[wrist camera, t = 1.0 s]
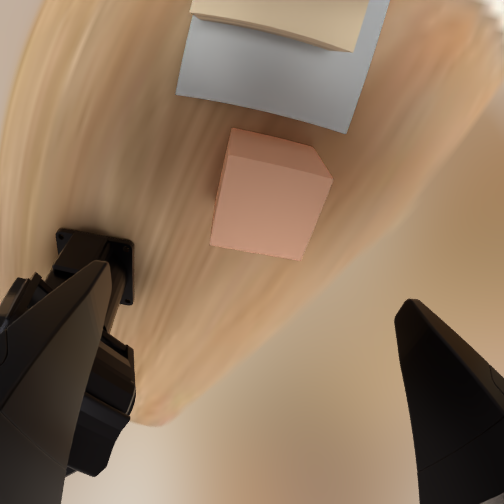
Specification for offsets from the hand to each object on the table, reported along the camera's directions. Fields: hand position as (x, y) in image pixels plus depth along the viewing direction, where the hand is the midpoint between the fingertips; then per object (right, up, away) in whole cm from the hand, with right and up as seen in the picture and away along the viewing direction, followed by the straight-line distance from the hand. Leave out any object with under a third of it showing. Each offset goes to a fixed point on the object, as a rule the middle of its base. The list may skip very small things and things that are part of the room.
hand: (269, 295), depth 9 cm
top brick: (0, +6, +11) cm, 12 cm away
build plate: (+2, +14, +5) cm, 15 cm away
